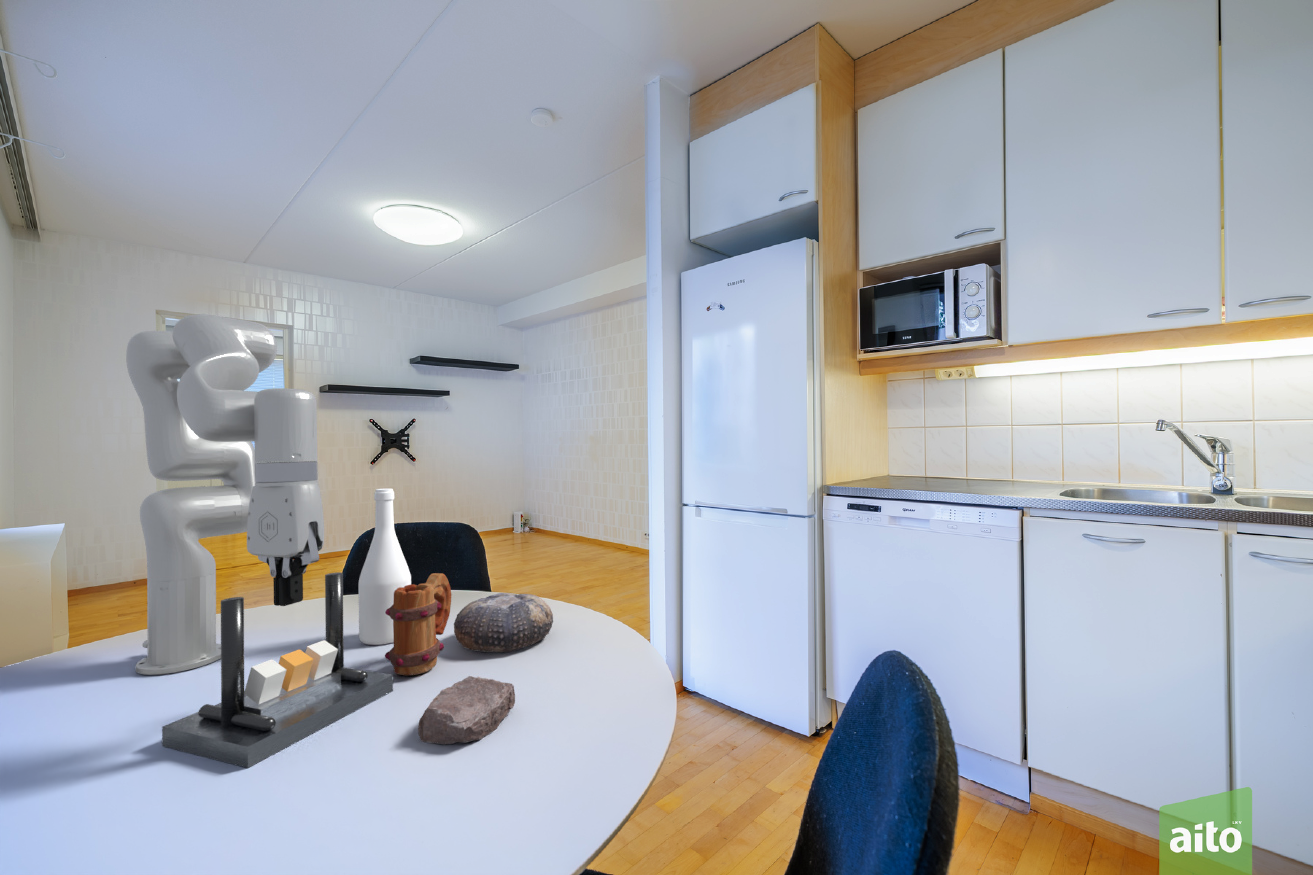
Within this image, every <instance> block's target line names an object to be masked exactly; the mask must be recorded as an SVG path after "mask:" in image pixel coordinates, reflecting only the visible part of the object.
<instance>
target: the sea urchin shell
mask: <svg viewBox="0 0 1313 875" xmlns="http://www.w3.org/2000/svg"><path fill="white" fill-rule="evenodd" d="M553 623H554V615H553V611H552V609H551V607H550V605H548V603H547V602H546V601H545V600H544V599H542V598H541V597H540V596H537V595H536V594H531V593H518V594H515V593H511V592H499V593H495V594H492V595H488V596H486V597H482V598H478V599H477V600H473V601H471V602H469V603H468V604H466V605H465V606H464V607H463V608H461V610H460V611H459V613H458V614H456V618H455V620H454V623H453V633H454V636H455V638H456V641H457V642H458V644H460V645H461V646H462V647H463V648H465V649H467V650H469V651H474V650H476V651H477V652H481V653H490V652H491V653H492V652H494V653H496V652H497V653H506V652H507V651H508V652H513V651H518V650H521V649H523V648H525V647H530V646H532V645H535V644H536V643H538V642H540V641H542V640H543V639H545V638H546V637H547V635H548V634H550V632H551V629H552V627H553Z"/></svg>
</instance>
